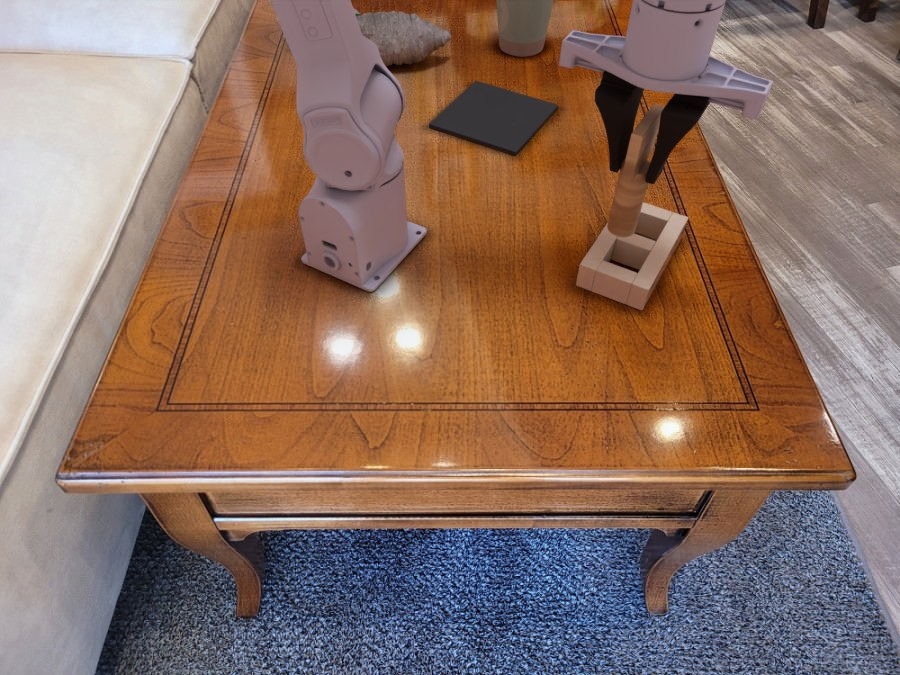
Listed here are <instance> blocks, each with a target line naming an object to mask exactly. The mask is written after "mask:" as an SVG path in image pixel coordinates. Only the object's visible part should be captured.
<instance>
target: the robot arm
mask: <svg viewBox="0 0 900 675" xmlns="http://www.w3.org/2000/svg"><path fill="white" fill-rule="evenodd" d="M726 1H727V0H632V4H631V9H630V14H629V19H628V24H627V29H626V33H625V36H623V35H612V34H611V35H610V34H599V33H590V32H584V31H579V30H576V29H572V31H570V32H569V33H568V34H567V36H565V37H564V38H563V39H562V40H561V47H560V54H559V63H558V66H559V67H562V68H566V69H570V70H571V69H573V68H575V67H576V66H577V67H581V68H583V69H588V70H591V71H593V72H594V71H595V72H599V73H602V77H601V79H600V83H599V84H598V86H597V87H596V89H595V90H594V103H595V104H596V107H597V109H598V112H599V114H600V116H601V119H602V122H603V125H604V130H605V133H606V139H607V145H608V154H609V156H608V157H609V158H608V159H609V171H610V172H613V173H616V174H619V172H620V168H621V164H622V162H623V160H624V159H626V155H627V151H628V147H629V142H630V138H631V134H632V132H633V131H634V130H635V122H636V118H637V115H638V112H639V107H640V104H641V101H642V97H643V94H644V91H645V90H646V91H652V92H655V93H663V94H673V95H672V96H671V98H670V99H669V100H668V101H667V103H666V104H665V106H664V109H663V110H662V112H661V116H660V124H659V129H658V133H657V137H656V141H655V145H654V150H653V154H652V157H651V160H650V161H649V162H650V165H649V168H648V171H647V174H646V180H645V182H647V183H648V184H650V185H655V184H656V182H657V180H658V179H659V178H660V176H661V175H662V173H663V170H664V167H665V165H666V163H667V161H668V159H669V157H670V155H671V153H672V151H673V150H674V149H675V148H676V147H677V145H679V143H680V142H681V141H682V140H683V139H684V138H685V137H686V135H687V134H688V133H689V132H690V131H691V130H692V129H693V128H694V127H695V126H696V125H697V123H699V121H700V120H701V118H702V116H703V114H704V113H705V111H706V110H707V108H708V107H709V105H710V103H711V104H715V105H718V106H723V107H725V108H730V109H733V110H737V111H740V112H741V116H742V117H744V118H747V119H750V120H754V121H756V120H758V119H759V117H760V115H761V113H762V111H763V109H764V107H765V105H766V102H767V100H768V97H769V94H770V92H771V89H772V87H773V84H774V81H773V80H771V79H768V78H763V77H761V76H758V75H755V74H752V73H751V72H748V71H745V70H743V69H740V68H739V67H736V66H734V65H732V64H730V63H727V62H725V61H724V60H721V59H719V58H716V57H714V56H712V55H711V51H712V48H713V44H714V41H715V39H716V35H717V32H718V28H719V24H720V21H721V18H722V16H723V12H724V9H725V6H726ZM269 3H270V5H271V7H272V10H273V12H274V14H275V17H276V19H277V21H278V24H279V26H280V29H281V31H282V34H283V36H284V38H285V40H286V43H287V45H288V48H289V50H290V53H291V55H292V58H293V60H294V63H295V64H296V100H295V102H296V114H297V116H298V118H299V122H300V123H301V126H302V131H303V143H302V151H303V152H302V154H303V156H304V160H305V162H306V164H307V166H308V168H309V170H310V171H311V172H312V173H313V174H314V175H315V179H314V182H313V184H312V186H311V189H310V190H309V191H308V193H307V194H306V196H305V197H304V198H303V199H302V201H301V202H300V203H299V205H298V211H297V214H298V219H299V220H298V221H299V225H300V229H301V233H302V238H303V239H302V240H303V242H304V243H303V244H304V248H305V253H304V254H302V256H301V258H300V259H301V260H300V261H301V263H302V264H304V265H307V266H309V267H312V268H314V269H316V270H318V271H321V272H322V273H325V274H327V275H329V276H332V277H334V278H336V279H338V280H341V281H343V282H346V283H348V284H350V285H352V286H355V287H357V288H359V289H361V290H363V291H366V292H374V291H375V290H376V289H378V287H379V286H380V285H381V284H382V283H383V282H384V281H385V279H387V278H388V277H389V275H390V274H391V273H392V272H393V271H394V270H395V269H396V268H397V267H398V266H399V265H400V263H401V262H402V261H403V260H404V259H405V258H406V257H407V256H408V255H409V254H410V253H411V251H412V250H413V249H414V248H416V246H417V245H418V244H419V243H420V242H421V240H422V239H423V238H425V236H426V235H427V234H428V233H427V232H428V230H427V228H426V226H425V227H424V226H423V225H420V224H416V223H414V222H411V221H409V220H408V210H407V192H406V177H405V176H406V174H405V163H404V162H405V160H404V152H403V149H402V147H401V146H400V143H399V142H398V140H397V137H396V134H395V131H396V128H397V125H398V123H399V121H400V120H401V118H402V116H403V114H404V111H405V107H406V106H405V105H406V100H405V93H404V89H403V87H402V85H401V83H400V82H399V80H398V79H397V77H396V76H395V75H394V74H393V73H392V72H391V71H390V70H389V69H388V66H385V65H384V63H383V61H382V59H381V56H380V53H379V50H378V47H377V45H376V44H374V43H373V42H372V41H370V40H369V39H367V38H366V37H364V36H363V35H362V33H361V30H360V27H359V24H358V21H357V18H356V15H355V12H354V9H355V8H354V6H353V4H352V0H269ZM353 8H354V9H353Z"/></svg>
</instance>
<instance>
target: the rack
mask: <svg viewBox="0 0 900 675" xmlns="http://www.w3.org/2000/svg"><path fill="white" fill-rule="evenodd" d="M688 221H689V217H688V216H686V215H684V214H681V213H677V212H674V211H671V210H669V209H665V208H662V207H659V206H656V205H654V204H650V203H647V202H644V201H643V205H642V208H641V212H640V216H639V219H638V223H637V227H636V230H635V233H634V234H633V235H631V236H629V237H618V236H615V235H613V234H611V233H610V232H609V230H608V228H607V225H608V222H607V223H605V225H604V227H603V228H602V230H601V232H600V233H599V234H598V236H597V238H596V239H595V241H594V242H593V244H592V245H591V247H590V248H589V250H588V251H587V253H586V254H585V255H584V257H583V258H582V260H581V262H580V263H579V266H578V271H577V277H576V280H575V281H576V282H575V286H576V287H579V288H581V289H584V290H587V291H589V292H592V293H594V294H598V295H600V296H602V297H605V298H608V299H610V300H613V301H615V302H618V303H620V304H623V305H625V306H628V307H631V308H633V309H637V310H639V311H643V310H645V307H646V306H647V303H648V301H649V300H650V297H651V296H652V294H653V292H654V290H655V289H656V287H657V285H658V283H659V281H660V280H661V277H662V275H663V273H665V271H666V268H667V266H668V265H669V263H670V261H671V259H672V258H673V255H674V253H675V252H676V250H677V248H678V246H679V244H680V243H681V241H682V239H683V236H684V233H685V230H686V227H687V224H688ZM611 260H612V261H613V262H616V263H618V264H622V265H624V266H626V267H630V268H633V269H635V270H638V272H636V271H633V270H632V269H631V270H630V269H628V268H625V267H622V266H620V265H617V264H614V263H611Z"/></svg>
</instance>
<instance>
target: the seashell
mask: <svg viewBox="0 0 900 675" xmlns="http://www.w3.org/2000/svg"><path fill="white" fill-rule="evenodd" d="M360 15H361V16H356V18H357V21H358V24H359V27H360V30H361V33H362V35H363V36H364V37H366V38H367V39H369V40H370V41H372V42H373V43H374V44H376V45H377V47H378V50H379V53H380V56H381V59H382V61H383V63H384V65H385V66H386V67H389V66H393V64H394V65H395V66H402V65H404V64H405V65H412V64H413V63H415V64H418V63H420V62H424V61H425V59H426V58H427V56H429V55H432V54H433V53H434V52H435V51H437V50H439V49H440V48H442V47H445V46H446V45H447V43H448V42H450V41H451V40H452V35H451V31H449V29H448V28H446V29H442V28H441V27H438V26H437V24H433V23H432V22H431V21H430V19H422V18H421V17H420V16H419V15H418V14H417V13H415V12H413V13H411V14H408V13H405V12H404V11H402V10H401V11H398V12H397V11H396V10H392V11H388V12H386V11H376V12H370V11H368V12H367V13H362V14H360Z"/></svg>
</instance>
